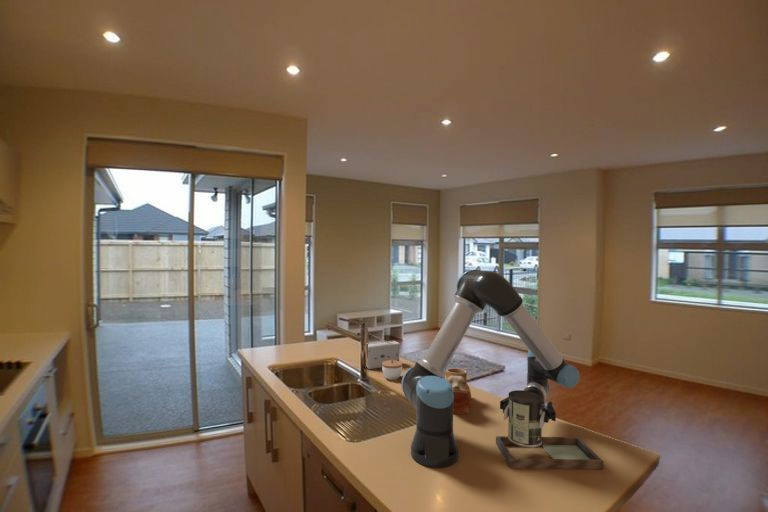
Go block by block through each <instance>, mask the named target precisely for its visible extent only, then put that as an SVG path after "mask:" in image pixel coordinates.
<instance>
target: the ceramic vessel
mask: <svg viewBox="0 0 768 512" xmlns="http://www.w3.org/2000/svg"><path fill="white" fill-rule="evenodd" d="M467 373H468V372H467V371H466V370H465V369H462V368H457V367H451V368H448V369H447V368H446V369H445V379H446V380H448V381H449V382H450V383H451V385H452V387H453V394H454V400H453V415H468V414H470V407H471V405H472V393H471V389H470V385H469V384H468V383H467V378H468V377H467V375H468V374H467Z"/></svg>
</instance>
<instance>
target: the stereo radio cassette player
mask: <svg viewBox="0 0 768 512" xmlns="http://www.w3.org/2000/svg"><path fill="white" fill-rule="evenodd" d="M369 335H371V336H373V337H374V338H377V339H378V340H381V342H380V341H379V342H378V341H377V342H369V344H368V343H367V344H368V359H367V368H366V369H368V370H373V369H380V368H381V369H382V362H384V361H388V360H396V361H400V346H401V344H400V342H398V341H397V340H389V341H387V340H385V339H383V338H381V337H378V336H376V335H374V334H371V333H369Z"/></svg>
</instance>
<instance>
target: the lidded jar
mask: <svg viewBox="0 0 768 512" xmlns="http://www.w3.org/2000/svg"><path fill="white" fill-rule="evenodd" d="M381 369H382V370H381V371H382V374H383V376H384V377H385V378H386V380H389V381H395V380H398V379H399V378H400V376H401V375H402V372H403V362H402V361H400V360H399V361H396V360H388V361H384V362H382V367H381Z"/></svg>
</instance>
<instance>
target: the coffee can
mask: <svg viewBox="0 0 768 512" xmlns="http://www.w3.org/2000/svg"><path fill="white" fill-rule="evenodd" d="M507 397H509V416H508V425H507V427H508V434H507V435H508V438H509V440H510V441H511V442H513V443H515V444H517V445H516V446H520V447H524V448H539V447H540V446H542V445H541V444H542V437H543V436H542V435H543V433H542V431H543V428H540V418H541V415H542V401H543V398H542V397H541V396H540V395H538V394H536V393H533V392H530V391H524V389H523V390H520V389H519V390H511V391H508V395H507Z"/></svg>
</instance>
